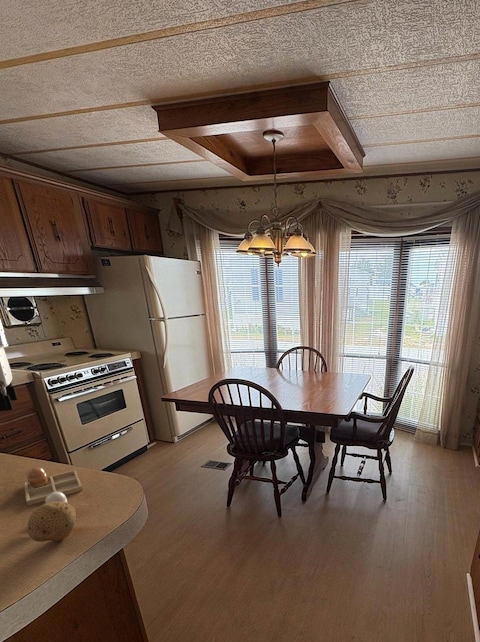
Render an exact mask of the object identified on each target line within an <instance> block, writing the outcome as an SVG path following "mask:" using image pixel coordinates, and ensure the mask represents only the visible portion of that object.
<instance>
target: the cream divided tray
mask: <svg viewBox="0 0 480 642" xmlns="http://www.w3.org/2000/svg"><path fill="white" fill-rule="evenodd" d="M47 478H48V482H47V484H46V486H43V487H39V488H35V489H34V488H33V487H31V486H30V485H29V483H28V481H25V482H23V484H24V492H25V502H26V505H27V506H31V505H35V504H39V503H42V502H45V499H46V497H47V496H48V495H49V494H50V493H52V492H61V493H63V494H64V495H65V496H67V495H71V494H74V493H77V492H82V491H83V486H82V483H81V481H80V479H79V475H78V473H77V470H76V469H74V470H69V471H64V472H61V473H57V474H53V475H49V476H48V475H47Z"/></svg>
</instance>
